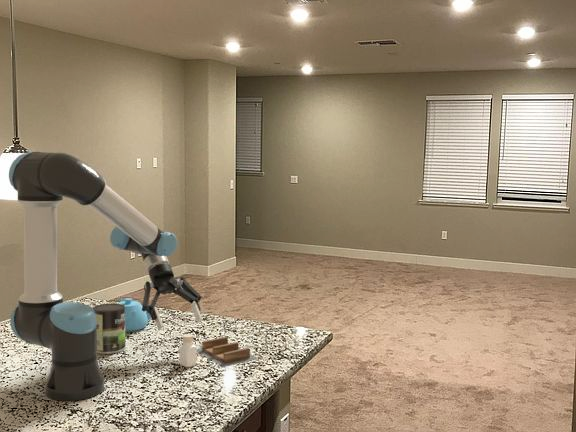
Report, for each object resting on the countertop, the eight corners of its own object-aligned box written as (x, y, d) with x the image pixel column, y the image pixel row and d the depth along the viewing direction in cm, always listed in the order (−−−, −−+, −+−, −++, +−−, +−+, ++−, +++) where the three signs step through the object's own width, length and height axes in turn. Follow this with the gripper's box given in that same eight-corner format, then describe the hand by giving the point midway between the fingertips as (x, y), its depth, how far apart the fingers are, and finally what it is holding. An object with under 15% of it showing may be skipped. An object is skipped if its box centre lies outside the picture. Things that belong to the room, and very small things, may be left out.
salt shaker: (188, 362, 194) (188, 332, 193) (197, 365, 191) (197, 335, 190) (178, 365, 191) (178, 335, 190) (187, 368, 188) (187, 338, 187)
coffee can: (131, 345, 209) (130, 304, 207) (116, 355, 199) (116, 312, 197) (102, 342, 211) (102, 302, 209) (87, 352, 201) (86, 310, 199)
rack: (202, 350, 204) (202, 341, 203) (225, 345, 209) (225, 336, 209) (225, 363, 192) (225, 354, 192) (249, 357, 197) (249, 348, 197)
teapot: (123, 319, 239) (122, 291, 238) (157, 323, 234) (157, 295, 233) (98, 330, 225) (97, 301, 223) (134, 335, 220) (134, 305, 218)
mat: (259, 359, 197) (259, 358, 197) (223, 368, 189) (223, 367, 189) (227, 343, 212) (227, 342, 212) (193, 350, 204) (193, 349, 204)
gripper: (188, 270, 216) (211, 323, 206) (119, 279, 201) (140, 337, 191) (196, 258, 211) (219, 311, 201) (126, 266, 196) (147, 325, 186)
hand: (180, 324), depth 196 cm, fingers open, 13 cm apart
